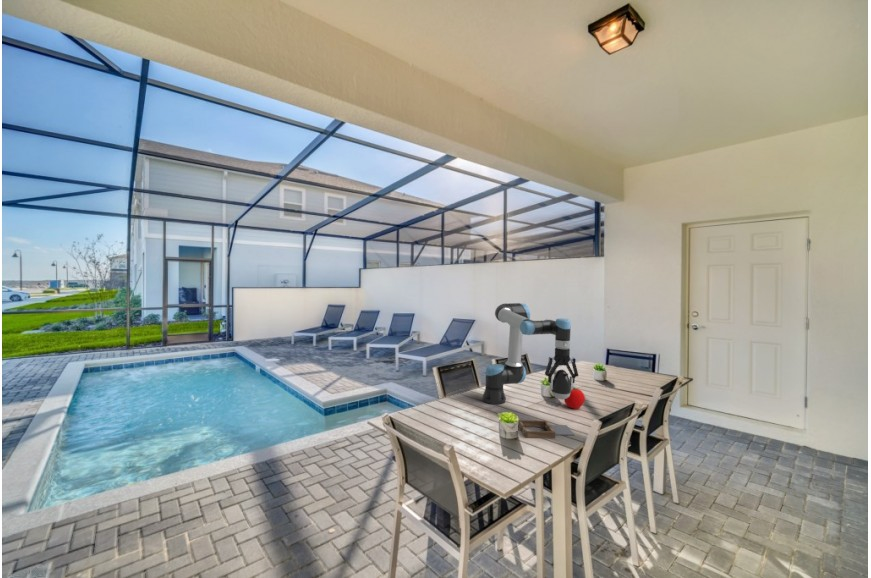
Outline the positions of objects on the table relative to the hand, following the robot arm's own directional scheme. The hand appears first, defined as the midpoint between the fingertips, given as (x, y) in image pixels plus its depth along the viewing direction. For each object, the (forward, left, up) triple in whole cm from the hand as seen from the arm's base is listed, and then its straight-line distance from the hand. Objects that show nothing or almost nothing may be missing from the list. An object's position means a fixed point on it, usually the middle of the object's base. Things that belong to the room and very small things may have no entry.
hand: (561, 388), depth 202 cm
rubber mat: (0, 0, -23) cm, 23 cm away
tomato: (-35, +21, -23) cm, 47 cm away
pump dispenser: (0, 0, -5) cm, 5 cm away
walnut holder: (+2, -13, -23) cm, 26 cm away
